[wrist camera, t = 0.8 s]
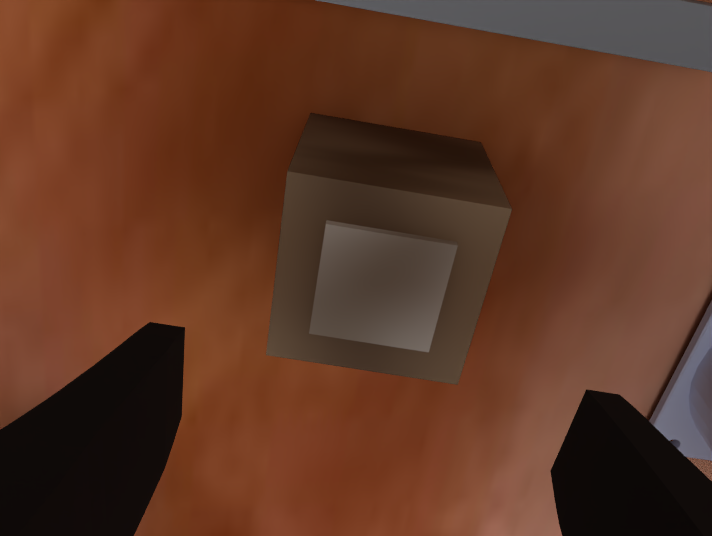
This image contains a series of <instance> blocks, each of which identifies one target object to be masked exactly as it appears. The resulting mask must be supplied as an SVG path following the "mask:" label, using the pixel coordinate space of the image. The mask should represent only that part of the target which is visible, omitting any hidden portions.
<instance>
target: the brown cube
mask: <svg viewBox="0 0 712 536" xmlns="http://www.w3.org/2000/svg"><path fill="white" fill-rule="evenodd" d="M511 211H512V208H511V206H510V204H509V201H508V199H507V197H506V195H505V193H504V191H503V189H502V186H501V184H500V182H499V180H498V178H497V176H496V173H495V171H494V169H493V167H492V165H491V163H490V161H489V158H488V156H487V154H486V152H485V150H484V148H483V146H482V143H481V142H477V141H471V140H465V139H459V138H454V137H448V136H442V135H436V134H430V133H425V132H419V131H413V130H407V129H401V128H396V127H390V126H384V125H378V124H372V123H367V122H361V121H355V120H349V119H344V118H338V117H332V116H326V115H320V114H315V113H310V115H309V118H308V121H307V123H306V126H305V128H304V131H303V133H302V136H301V138H300V141H299V143H298V146H297V148H296V151H295V153H294V156H293V158H292V161H291V163H290V166H289V169H288V171H287V179H286V188H285V196H284V205H283V214H282V222H281V231H280V240H279V248H278V257H277V265H276V274H275V283H274V291H273V300H272V308H271V317H270V326H269V334H268V343H267V352H266V355H270V356H276V357H283V358H289V359H295V360H302V361H308V362H315V363H321V364H328V365H334V366H341V367H347V368H354V369H360V370H367V371H373V372H380V373H386V374H392V375H399V376H405V377H412V378H418V379H425V380H431V381H438V382H444V383H451V384H457V385H458V382H459V379H460V376H461V372H462V369H463V366H464V363H465V359H466V356H467V353H468V350H469V347H470V343H471V340H472V337H473V334H474V330H475V327H476V324H477V321H478V317H479V314H480V311H481V308H482V305H483V301H484V298H485V295H486V292H487V288H488V285H489V282H490V279H491V275H492V272H493V269H494V266H495V262H496V259H497V256H498V253H499V250H500V246H501V243H502V240H503V237H504V233H505V230H506V227H507V224H508V220H509V217H510V214H511Z"/></svg>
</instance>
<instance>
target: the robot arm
mask: <svg viewBox="0 0 712 536" xmlns="http://www.w3.org/2000/svg"><path fill="white" fill-rule="evenodd" d="M184 338H185V328H184V327H178V326H171V325H165V324H158V323H152V322H150V323H148V324H147V325H145V326H144V327H142V328H141V329H140V330H138V331H137V332H136V333H134V334H133V335H132V336H131V337H129V338H128V339H127V340H126V341H124V342H123V343H122V344H121V345H119V346H118V347H117V348H115V349H114V350H113V351H112V352H110V353H109V354H108V355H106V356H105V357H104V358H103V359H101V360H100V361H99V362H97V363H96V364H95V365H93V366H92V367H91V368H89V369H88V370H87V371H85V372H84V373H83V374H81V375H80V376H79V377H77V378H76V379H75V380H73V381H72V382H70V383H69V384H68V385H66V386H65V387H64V388H62V389H61V390H60V391H58V392H57V393H55V394H54V395H52V396H51V397H50V398H48V399H47V400H45V401H44V402H42V403H41V404H39V405H37V406H36V407H34V408H33V409H31V410H30V411H28V412H27V413H25V414H24V415H22V416H21V417H19V418H18V419H16V420H15V421H13V422H12V423H10V424H9V425H7V426H6V427H4V428H2V429H1V430H0V536H134V534H135V532H136V530H137V527H138V525H139V523H140V521H141V519H142V517H143V515H144V513H145V510H146V508H147V506H148V504H149V502H150V500H151V497H152V495H153V493H154V491H155V489H156V486H157V484H158V482H159V480H160V478H161V475H162V473H163V471H164V469H165V466H166V463H167V460H168V457H169V454H170V451H171V448H172V445H173V442H174V439H175V436H176V433H177V429H178V426H179V423H180V420H181V417H182V392H183V365H184ZM670 440H673V441H671V442H670ZM686 457H690V458H697V459H704V460H710V461H712V301H711V303H710V305H709V306H708V308H707V310H706V312H705V314H704V316H703V318H702V320H701V322H700V324H699V326H698V328H697V330H696V332H695V334H694V335H693V337H692V339H691V341H690V343H689V345H688V347H687V349H686V351H685V353H684V355H683V357H682V359H681V361H680V362H679V364H678V366H677V368H676V370H675V372H674V374H673V376H672V378H671V380H670V382H669V384H668V386H667V388H666V390H665V391H664V393H663V395H662V397H661V399H660V401H659V403H658V405H657V407H656V409H655V411H654V413H653V415H652V417H651V419H650V420H649V421H648V420H647V419H646V418H645V417H644V416H643V415H642V414H641V413H640V412H639V411H637V410H636V409H635V408H634V407H633V406H632V405H631V404H630V403H629V402H627V401H626V400H625V399H624V398H623V397H622V396H620V395H618V394H612V393H605V392H599V391H592V390H586V392H585V394H584V396H583V398H582V401H581V403H580V405H579V408H578V410H577V412H576V414H575V417H574V419H573V421H572V423H571V426H570V428H569V430H568V433H567V435H566V437H565V439H564V442H563V444H562V446H561V449H560V451H559V453H558V455H557V458H556V460H555V462H554V464H553V467H552V469H551V477H552V483H553V490H554V497H555V503H556V509H557V514H558V520H559V525H560V529H561V532H562V536H712V481H711V480H709V479H708V478H707V477H706V476H705V475H704V474H703V473H702V472H701V471H700V470H699V469H698V468H697V467H696V466H695V465H694V464H693V463H692V462H691V461H690V460H688V459H687V458H686Z"/></svg>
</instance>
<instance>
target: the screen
mask: <svg viewBox="0 0 712 536" xmlns="http://www.w3.org/2000/svg"><path fill="white" fill-rule="evenodd" d="M317 1H323V2H328V3H334V4H339V5H345V6H350V7H356V8H361V9H367V10H372V11H378V12H383V13H389V14H394V15H400V16H405V17H411V18H416V19H422V20H428V21H433V22H439V23H444V24H450V25H455V26H461V27H466V28H472V29H477V30H483V31H488V32H494V33H499V34H505V35H510V36H516V37H521V38H527V39H532V40H538V41H543V42H549V43H554V44H560V45H566V46H571V47H577V48H582V49H588V50H593V51H599V52H604V53H610V54H615V55H621V56H626V57H632V58H637V59H643V60H648V61H654V62H659V63H665V64H670V65H676V66H681V67H687V68H692V69H698V70H704V71H709V72H712V3H707V2H702V1H697V0H317Z"/></svg>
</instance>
